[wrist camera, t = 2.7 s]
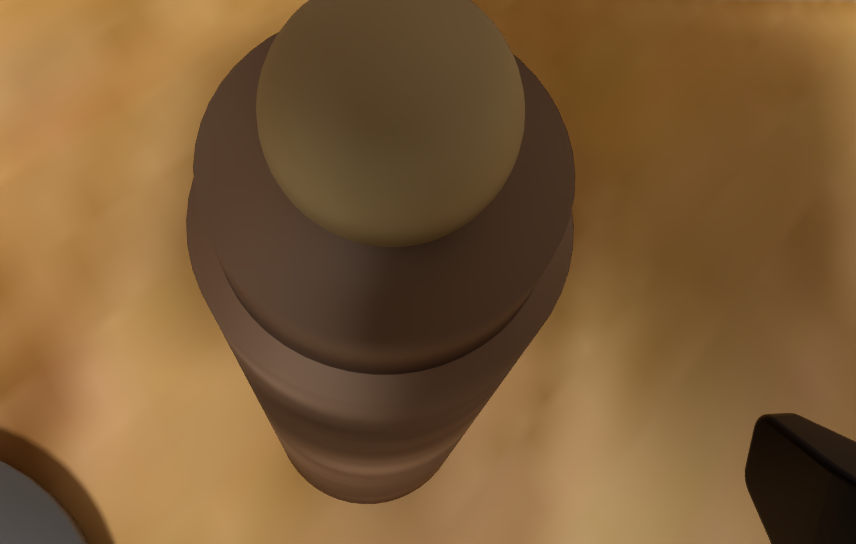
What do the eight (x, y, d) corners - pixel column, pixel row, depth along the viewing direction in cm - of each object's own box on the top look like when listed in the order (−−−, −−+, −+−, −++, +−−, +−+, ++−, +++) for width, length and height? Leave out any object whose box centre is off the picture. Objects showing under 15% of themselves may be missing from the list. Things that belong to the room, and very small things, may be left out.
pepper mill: (490, 385, 20) (766, -20, 6) (395, 541, 18) (501, 427, 5) (345, 293, 20) (326, -251, 7) (240, 437, 19) (-37, 82, 5)
